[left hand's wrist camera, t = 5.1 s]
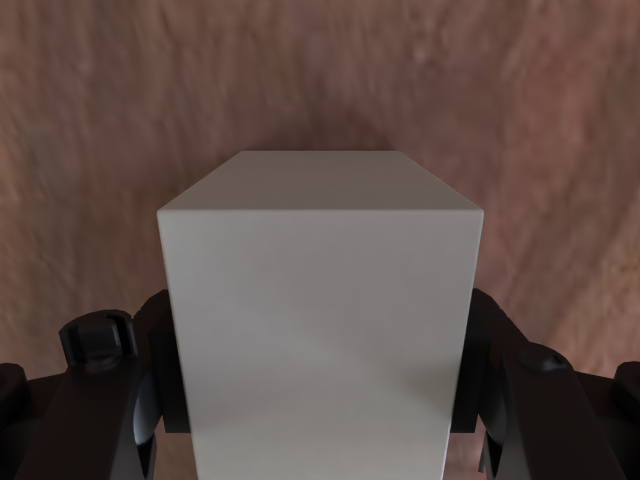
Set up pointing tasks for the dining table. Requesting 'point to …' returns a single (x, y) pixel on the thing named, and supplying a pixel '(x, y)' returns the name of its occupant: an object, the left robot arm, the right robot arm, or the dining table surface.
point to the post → (320, 314)
